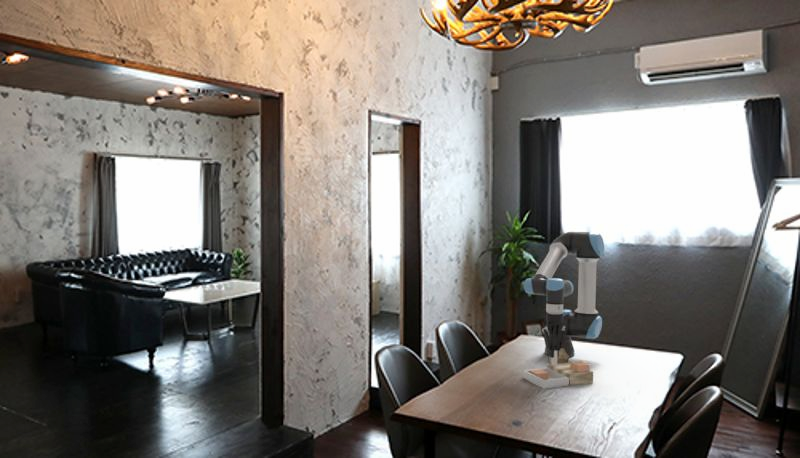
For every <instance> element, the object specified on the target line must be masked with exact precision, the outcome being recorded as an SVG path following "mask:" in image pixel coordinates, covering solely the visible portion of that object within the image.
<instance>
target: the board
mask: <svg viewBox="0 0 800 458" xmlns="http://www.w3.org/2000/svg"><path fill="white" fill-rule="evenodd" d="M548 368H549V369H552V370H554V371H556V372H558V373H560V374H562V375H564V376H567V377H569V386H577V385H579V386H580V385H586V384H593V383H594V371H593V370H591V369H590V371H587V372H576V371H574V370H572V369H570V361H569V362H568V363H559V364H557V365H553V364H550V365H549V364H548Z"/></svg>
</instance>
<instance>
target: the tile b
mask: <svg viewBox="0 0 800 458" xmlns="http://www.w3.org/2000/svg"><path fill="white" fill-rule="evenodd" d="M569 362H570V361H569ZM570 369H572V370H574V371H576V372H587V371H590V370H591V364H589V363H587V362H585V361H583V360H581V361H580V360H579V361H571V362H570Z"/></svg>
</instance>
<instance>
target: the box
mask: <svg viewBox="0 0 800 458" xmlns="http://www.w3.org/2000/svg"><path fill="white" fill-rule="evenodd" d="M538 369H539V368H534V369H532V370H538ZM541 369H542V370H544V371H546V372H548V373H549V379H548V380H543V379H541V378H539V377H537V376H535V375H533V374H531V373H530V370H531V369H526V370H523V371H522V372H523V375H522V376H523V379H524V380H526V381H528V382H530V383H532V384H533V385H536V386H537V387H539V388H540V389H543V390H544V389H552V388H560V387H570V385H569V377H567V376H564V375H562V374H560V373H558V372H556V371H554V370H552V369H549V367H544V368H541Z"/></svg>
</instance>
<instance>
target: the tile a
mask: <svg viewBox="0 0 800 458" xmlns="http://www.w3.org/2000/svg"><path fill="white" fill-rule="evenodd" d="M537 369H538V370H533V369H529V370H530V373H531V374H533V375H535V376H537V377H539V378H541V379H543V380H548V379H549V373H548V372H546V371H544V370H542V368H537Z"/></svg>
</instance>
